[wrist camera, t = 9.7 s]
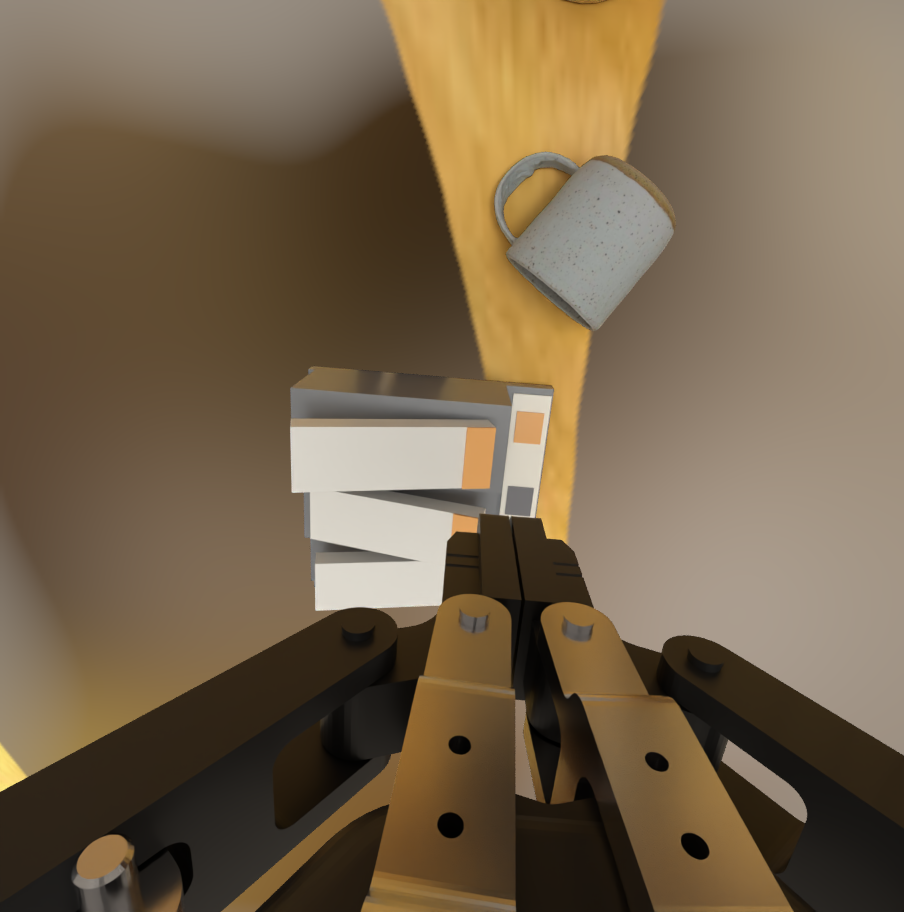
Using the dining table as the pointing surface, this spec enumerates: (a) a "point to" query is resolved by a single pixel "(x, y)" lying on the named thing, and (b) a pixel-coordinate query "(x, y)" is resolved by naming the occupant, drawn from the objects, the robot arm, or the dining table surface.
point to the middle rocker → (390, 522)
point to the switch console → (432, 397)
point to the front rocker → (390, 454)
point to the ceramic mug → (588, 234)
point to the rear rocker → (375, 581)
